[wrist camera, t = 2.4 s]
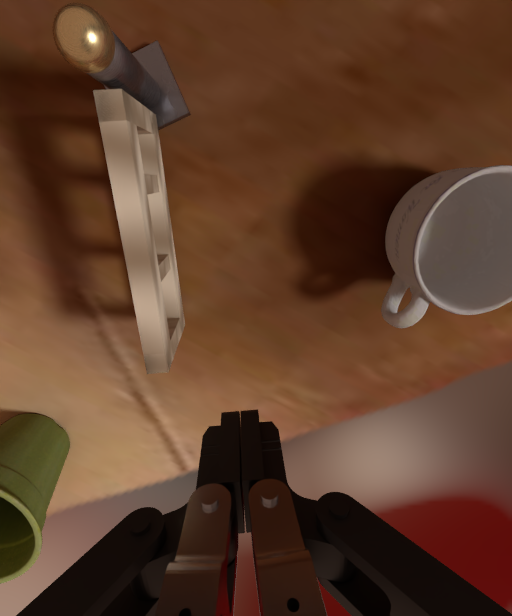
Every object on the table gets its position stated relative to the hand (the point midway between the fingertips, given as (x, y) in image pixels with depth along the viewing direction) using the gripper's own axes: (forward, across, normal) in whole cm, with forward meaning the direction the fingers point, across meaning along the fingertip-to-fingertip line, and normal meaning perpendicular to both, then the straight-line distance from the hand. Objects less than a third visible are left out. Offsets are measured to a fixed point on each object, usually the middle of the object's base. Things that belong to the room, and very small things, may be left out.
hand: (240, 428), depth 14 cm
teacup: (+20, -17, -3) cm, 27 cm away
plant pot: (+20, +23, +16) cm, 35 cm away
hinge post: (+20, +6, -16) cm, 26 cm away
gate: (+19, +6, -6) cm, 20 cm away
